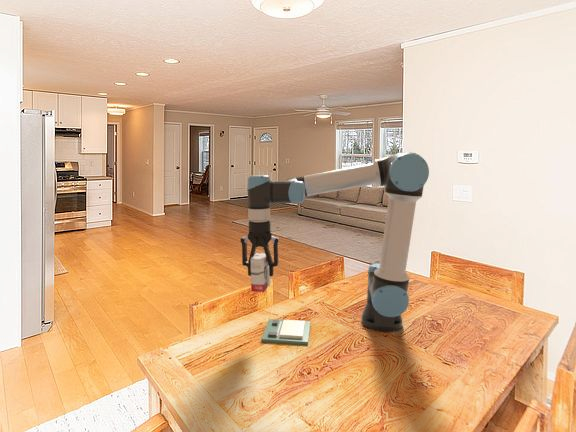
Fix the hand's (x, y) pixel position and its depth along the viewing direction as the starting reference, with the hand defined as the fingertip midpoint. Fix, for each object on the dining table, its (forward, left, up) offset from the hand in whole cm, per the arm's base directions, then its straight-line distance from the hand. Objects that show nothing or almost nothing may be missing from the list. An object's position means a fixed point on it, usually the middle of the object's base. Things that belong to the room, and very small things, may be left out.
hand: (261, 284), depth 135 cm
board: (-9, -1, -18) cm, 20 cm away
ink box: (0, 0, -1) cm, 1 cm away
